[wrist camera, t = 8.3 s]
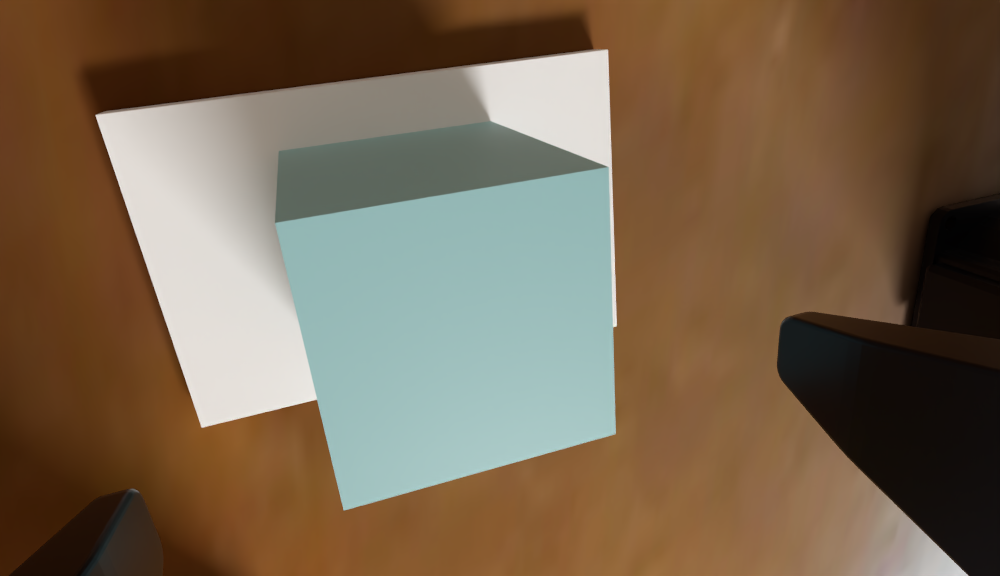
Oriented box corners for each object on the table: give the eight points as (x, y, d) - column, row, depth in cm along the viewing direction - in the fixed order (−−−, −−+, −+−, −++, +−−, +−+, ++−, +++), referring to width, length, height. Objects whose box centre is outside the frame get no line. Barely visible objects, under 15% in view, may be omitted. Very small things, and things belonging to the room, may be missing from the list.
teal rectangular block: (490, 121, 16) (608, 167, 10) (508, 306, 18) (616, 434, 12) (278, 150, 15) (274, 223, 9) (323, 347, 17) (343, 509, 11)
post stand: (594, 49, 17) (749, 53, 11) (604, 316, 20) (730, 423, 15) (104, 111, 14) (-16, 158, 9) (205, 411, 17) (166, 592, 12)
